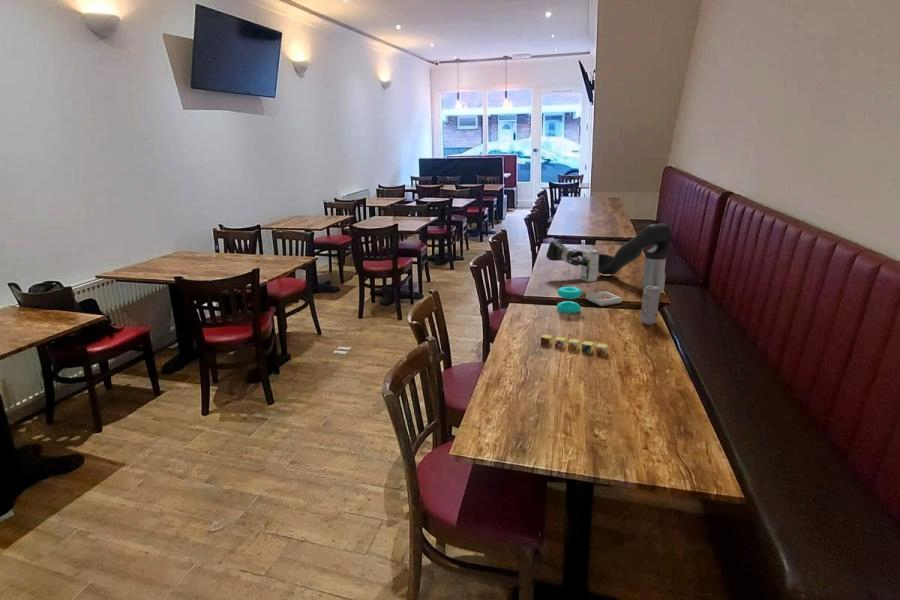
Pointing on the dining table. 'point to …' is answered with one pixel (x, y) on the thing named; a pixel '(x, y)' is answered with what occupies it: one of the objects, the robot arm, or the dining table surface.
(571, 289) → the donuts
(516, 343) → the dining table surface
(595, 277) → the syrup box
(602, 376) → the dining table surface
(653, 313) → the energy drink can
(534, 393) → the dining table surface
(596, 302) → the tray
